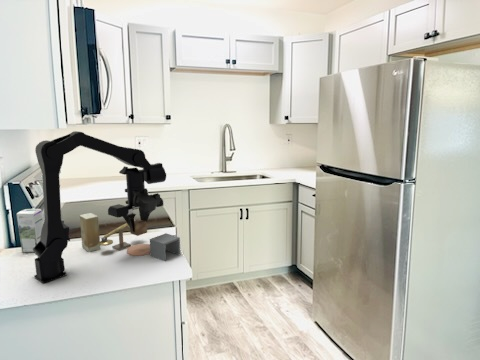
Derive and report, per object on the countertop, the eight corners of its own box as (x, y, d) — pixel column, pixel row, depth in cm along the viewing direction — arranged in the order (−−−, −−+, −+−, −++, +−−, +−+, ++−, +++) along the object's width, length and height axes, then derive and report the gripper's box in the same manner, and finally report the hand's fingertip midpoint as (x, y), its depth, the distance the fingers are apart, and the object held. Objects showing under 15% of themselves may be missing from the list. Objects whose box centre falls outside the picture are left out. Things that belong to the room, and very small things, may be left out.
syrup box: (46, 246, 125) (42, 207, 122) (38, 253, 119) (32, 212, 117) (30, 246, 125) (25, 208, 122) (21, 253, 119) (15, 212, 116)
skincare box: (81, 247, 124) (78, 214, 122) (93, 244, 127) (91, 212, 125) (88, 252, 119) (85, 218, 117) (101, 249, 122) (98, 215, 120)
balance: (104, 256, 116) (102, 230, 115) (97, 252, 119) (95, 227, 117) (144, 242, 129) (142, 218, 127) (136, 239, 131) (135, 216, 130)
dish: (137, 258, 114) (137, 255, 114) (121, 251, 120) (121, 249, 120) (158, 249, 121) (158, 247, 121) (142, 244, 127) (142, 241, 127)
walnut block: (137, 235, 116) (136, 224, 116) (130, 233, 119) (129, 222, 118) (147, 232, 120) (146, 221, 119) (140, 230, 122) (139, 219, 121)
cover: (164, 261, 112) (163, 243, 111) (150, 255, 116) (149, 239, 115) (180, 254, 117) (179, 237, 116) (166, 249, 122) (165, 233, 121)
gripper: (125, 194, 104) (129, 243, 107) (172, 184, 119) (174, 227, 121) (105, 189, 111) (109, 235, 114) (152, 180, 125) (154, 221, 128)
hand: (138, 230), depth 119 cm, fingers closed on walnut block, 4 cm apart
